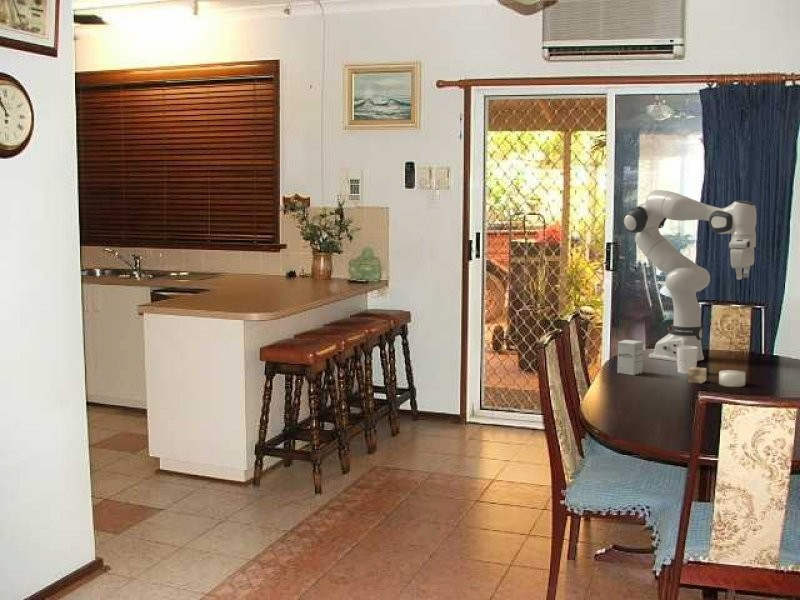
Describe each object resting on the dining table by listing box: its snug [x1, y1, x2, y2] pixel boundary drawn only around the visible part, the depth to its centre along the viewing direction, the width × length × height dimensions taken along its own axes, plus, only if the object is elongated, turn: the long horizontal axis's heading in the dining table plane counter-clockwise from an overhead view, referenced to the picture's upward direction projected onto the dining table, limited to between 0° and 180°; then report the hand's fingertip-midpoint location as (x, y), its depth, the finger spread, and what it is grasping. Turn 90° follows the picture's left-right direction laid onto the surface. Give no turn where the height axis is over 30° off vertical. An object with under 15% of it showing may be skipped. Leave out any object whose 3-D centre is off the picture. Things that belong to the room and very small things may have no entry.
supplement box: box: [617, 339, 644, 376], centre depth 344 cm, size 7×7×13 cm
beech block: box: [687, 366, 707, 384], centre depth 326 cm, size 5×5×5 cm
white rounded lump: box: [718, 369, 746, 388], centre depth 321 cm, size 9×9×4 cm
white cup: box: [676, 346, 698, 375], centre depth 343 cm, size 8×8×10 cm
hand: (742, 278), depth 340 cm, fingers open, 8 cm apart
